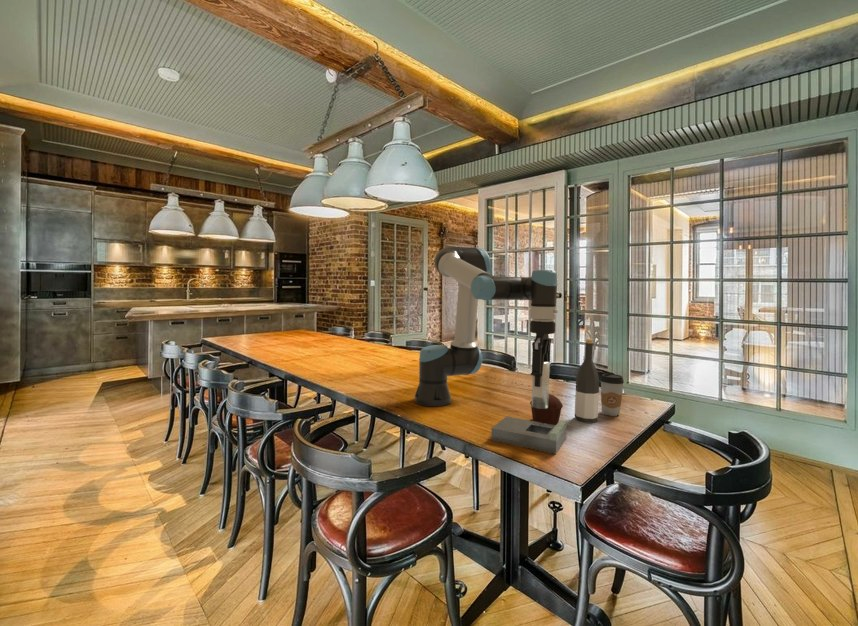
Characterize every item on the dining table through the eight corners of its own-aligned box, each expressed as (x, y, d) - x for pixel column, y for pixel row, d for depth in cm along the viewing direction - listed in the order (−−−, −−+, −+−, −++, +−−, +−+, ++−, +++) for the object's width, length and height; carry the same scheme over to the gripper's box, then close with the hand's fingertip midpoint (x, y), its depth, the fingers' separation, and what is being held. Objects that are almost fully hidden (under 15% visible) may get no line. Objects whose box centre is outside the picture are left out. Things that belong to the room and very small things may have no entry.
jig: (491, 440, 129) (491, 421, 129) (506, 427, 142) (506, 410, 141) (555, 454, 120) (556, 434, 119) (566, 439, 132) (566, 421, 131)
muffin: (523, 418, 152) (523, 392, 151) (546, 415, 156) (547, 389, 156) (544, 429, 141) (545, 400, 140) (569, 425, 146) (570, 397, 145)
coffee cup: (599, 415, 158) (600, 376, 157) (598, 409, 165) (600, 372, 164) (623, 418, 155) (625, 378, 154) (621, 412, 162) (623, 374, 161)
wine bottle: (583, 423, 147) (586, 340, 145) (569, 416, 155) (573, 337, 153) (602, 422, 149) (606, 340, 148) (588, 415, 157) (591, 337, 155)
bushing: (529, 407, 127) (531, 361, 126) (534, 403, 132) (535, 359, 131) (545, 409, 125) (547, 363, 124) (549, 405, 129) (551, 361, 128)
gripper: (547, 322, 117) (545, 403, 118) (561, 319, 133) (559, 390, 134) (522, 321, 121) (519, 399, 122) (538, 318, 136) (536, 387, 138)
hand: (540, 394), depth 128 cm, fingers closed on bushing, 5 cm apart
